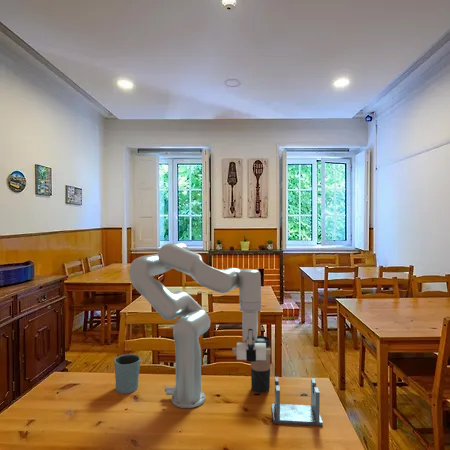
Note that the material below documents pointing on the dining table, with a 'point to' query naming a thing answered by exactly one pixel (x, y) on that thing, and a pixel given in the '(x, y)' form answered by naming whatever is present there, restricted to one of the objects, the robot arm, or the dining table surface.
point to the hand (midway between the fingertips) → (251, 357)
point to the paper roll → (260, 348)
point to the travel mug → (261, 370)
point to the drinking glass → (127, 373)
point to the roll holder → (297, 409)
